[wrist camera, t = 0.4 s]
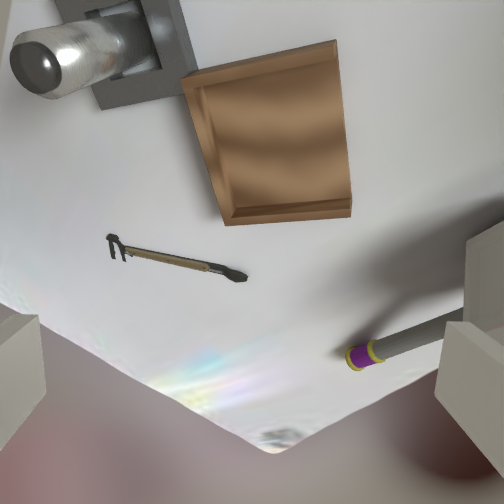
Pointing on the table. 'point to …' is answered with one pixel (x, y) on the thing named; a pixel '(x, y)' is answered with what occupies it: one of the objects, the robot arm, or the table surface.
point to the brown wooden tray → (274, 135)
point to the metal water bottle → (80, 53)
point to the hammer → (474, 310)
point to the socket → (167, 45)
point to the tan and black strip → (174, 260)
